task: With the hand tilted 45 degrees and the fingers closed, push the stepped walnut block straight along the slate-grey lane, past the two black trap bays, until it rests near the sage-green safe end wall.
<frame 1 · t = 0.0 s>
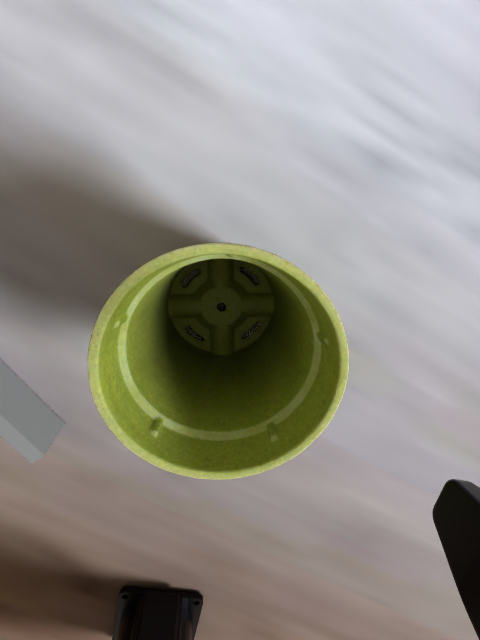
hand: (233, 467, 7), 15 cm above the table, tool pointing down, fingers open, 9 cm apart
plant pot: (220, 302, 22), on the table
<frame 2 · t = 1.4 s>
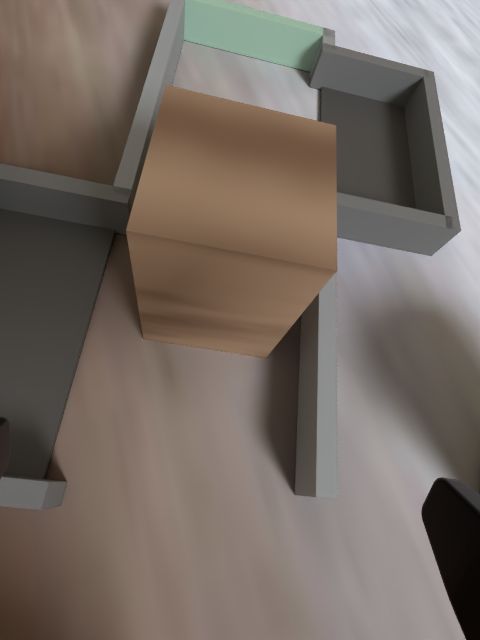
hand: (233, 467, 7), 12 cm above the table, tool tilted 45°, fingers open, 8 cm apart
walnut block: (220, 246, 24), resting in trap lane
trap lane: (220, 245, 24), on the table
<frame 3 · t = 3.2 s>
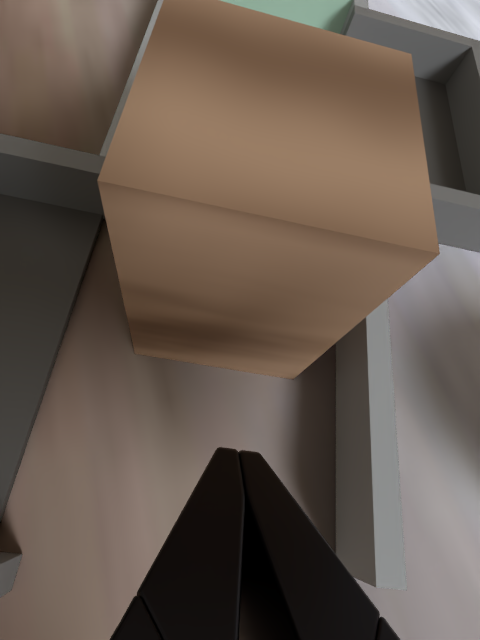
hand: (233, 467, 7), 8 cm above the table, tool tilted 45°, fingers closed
walnut block: (234, 237, 19), resting in trap lane
trap lane: (234, 237, 19), on the table
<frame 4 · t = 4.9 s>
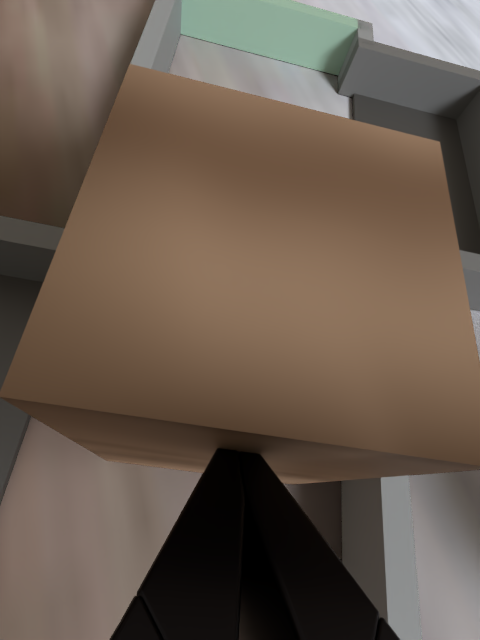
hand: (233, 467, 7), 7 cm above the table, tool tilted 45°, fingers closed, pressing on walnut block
walnut block: (225, 307, 17), resting in trap lane, touching gripper
trap lane: (225, 307, 17), on the table
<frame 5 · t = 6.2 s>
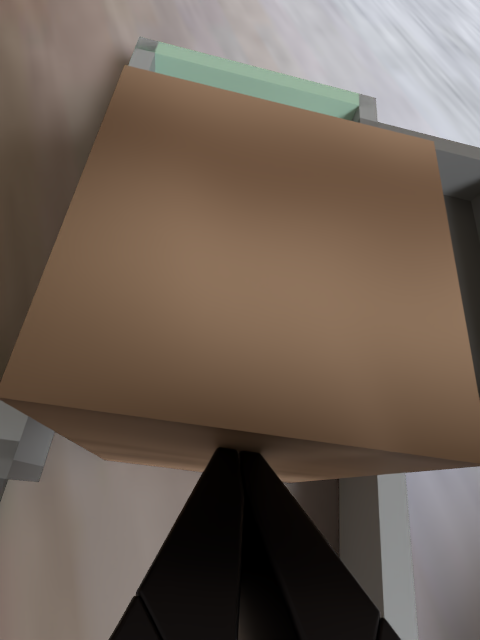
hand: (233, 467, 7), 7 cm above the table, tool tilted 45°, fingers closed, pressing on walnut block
walnut block: (222, 307, 17), resting in trap lane, touching gripper
trap lane: (198, 485, 14), on the table
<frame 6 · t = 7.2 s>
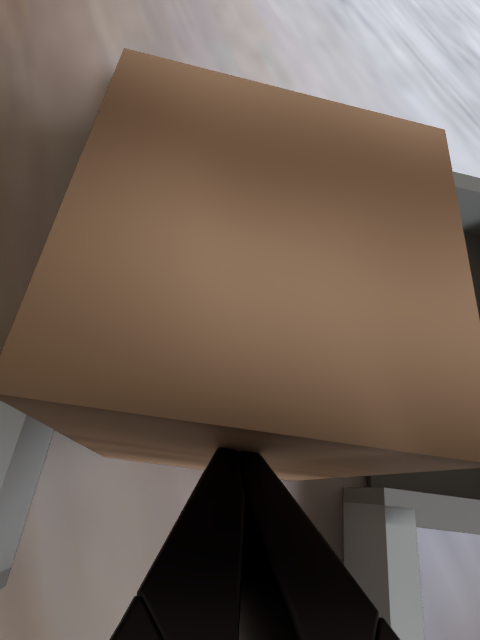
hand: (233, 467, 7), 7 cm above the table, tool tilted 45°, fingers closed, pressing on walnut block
walnut block: (224, 302, 17), resting in trap lane, touching gripper
trap lane: (186, 583, 12), on the table
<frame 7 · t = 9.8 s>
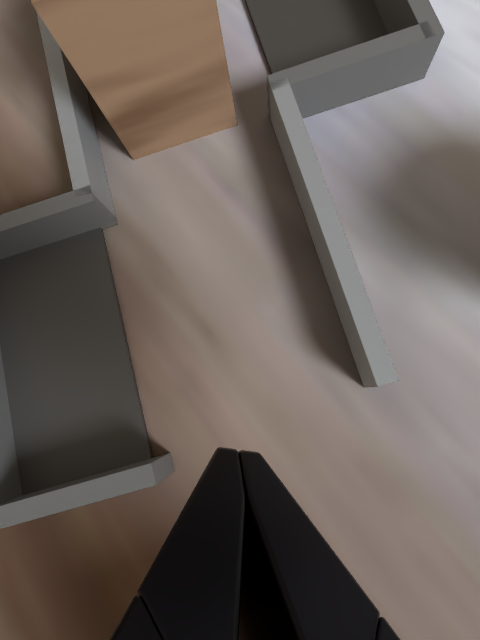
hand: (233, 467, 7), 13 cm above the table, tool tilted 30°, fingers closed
walnut block: (159, 55, 25), resting in trap lane
trap lane: (199, 190, 23), on the table
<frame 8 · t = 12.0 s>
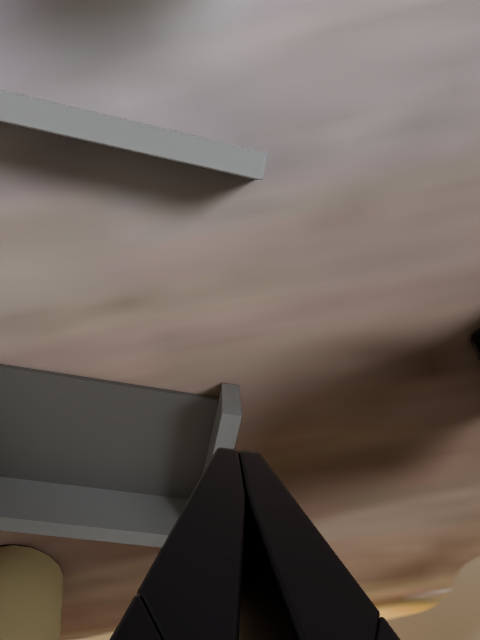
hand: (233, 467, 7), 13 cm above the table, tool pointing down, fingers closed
squeeze bottle: (22, 570, 26), on the table
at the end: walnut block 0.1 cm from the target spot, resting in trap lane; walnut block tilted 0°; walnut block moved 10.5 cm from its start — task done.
